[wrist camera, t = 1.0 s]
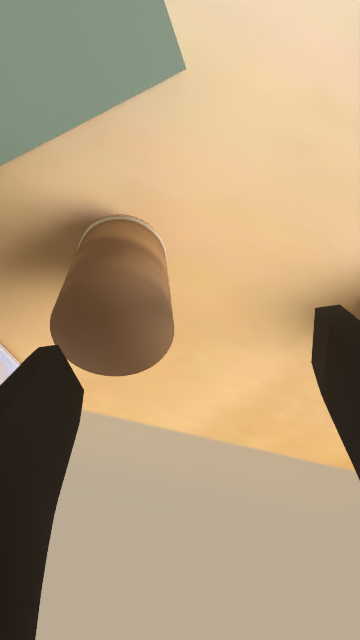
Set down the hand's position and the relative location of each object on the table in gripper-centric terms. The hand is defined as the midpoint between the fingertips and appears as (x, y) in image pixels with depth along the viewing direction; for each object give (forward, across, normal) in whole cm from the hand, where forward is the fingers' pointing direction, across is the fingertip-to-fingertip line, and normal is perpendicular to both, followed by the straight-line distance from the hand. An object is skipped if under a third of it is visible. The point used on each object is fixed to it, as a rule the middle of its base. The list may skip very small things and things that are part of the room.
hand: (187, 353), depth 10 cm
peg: (+11, +4, +1) cm, 12 cm away
